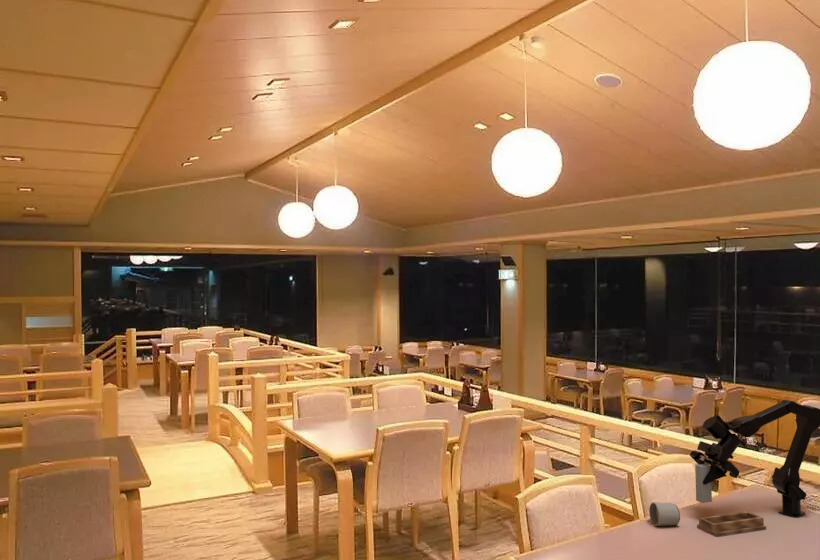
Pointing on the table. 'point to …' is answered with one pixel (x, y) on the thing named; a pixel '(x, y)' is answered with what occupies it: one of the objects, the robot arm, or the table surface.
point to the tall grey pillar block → (702, 490)
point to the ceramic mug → (664, 514)
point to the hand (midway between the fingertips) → (700, 482)
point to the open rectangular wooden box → (731, 524)
